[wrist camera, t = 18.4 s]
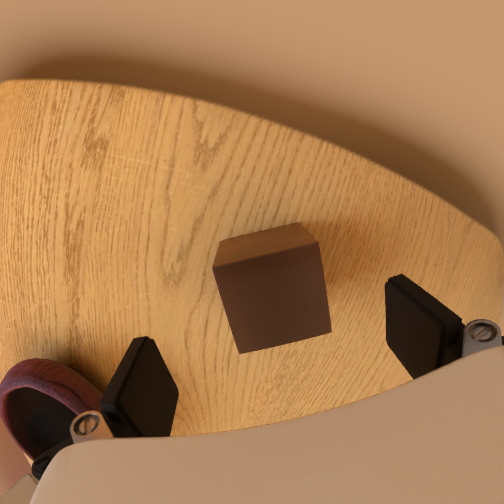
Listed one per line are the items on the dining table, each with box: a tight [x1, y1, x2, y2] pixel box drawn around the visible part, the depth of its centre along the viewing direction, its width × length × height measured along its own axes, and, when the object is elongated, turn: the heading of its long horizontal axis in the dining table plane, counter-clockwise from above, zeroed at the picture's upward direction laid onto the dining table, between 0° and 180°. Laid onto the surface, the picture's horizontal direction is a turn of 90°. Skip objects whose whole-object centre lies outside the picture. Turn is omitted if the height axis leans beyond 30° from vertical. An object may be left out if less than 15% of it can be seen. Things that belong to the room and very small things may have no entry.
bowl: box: [0, 358, 104, 461], centre depth 18 cm, size 16×13×8 cm
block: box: [212, 223, 332, 354], centre depth 16 cm, size 5×5×5 cm
